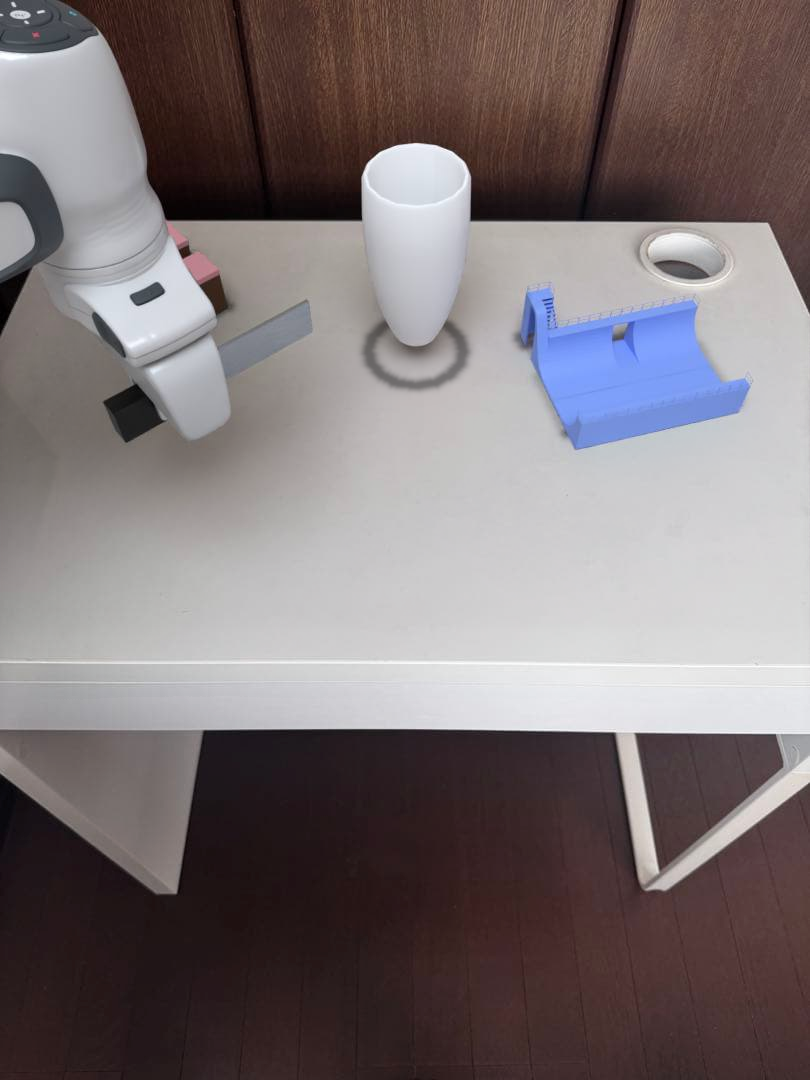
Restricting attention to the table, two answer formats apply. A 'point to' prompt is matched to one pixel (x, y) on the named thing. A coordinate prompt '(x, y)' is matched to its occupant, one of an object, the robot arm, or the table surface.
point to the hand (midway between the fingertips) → (158, 400)
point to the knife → (238, 354)
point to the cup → (416, 235)
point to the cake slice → (207, 279)
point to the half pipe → (626, 371)
